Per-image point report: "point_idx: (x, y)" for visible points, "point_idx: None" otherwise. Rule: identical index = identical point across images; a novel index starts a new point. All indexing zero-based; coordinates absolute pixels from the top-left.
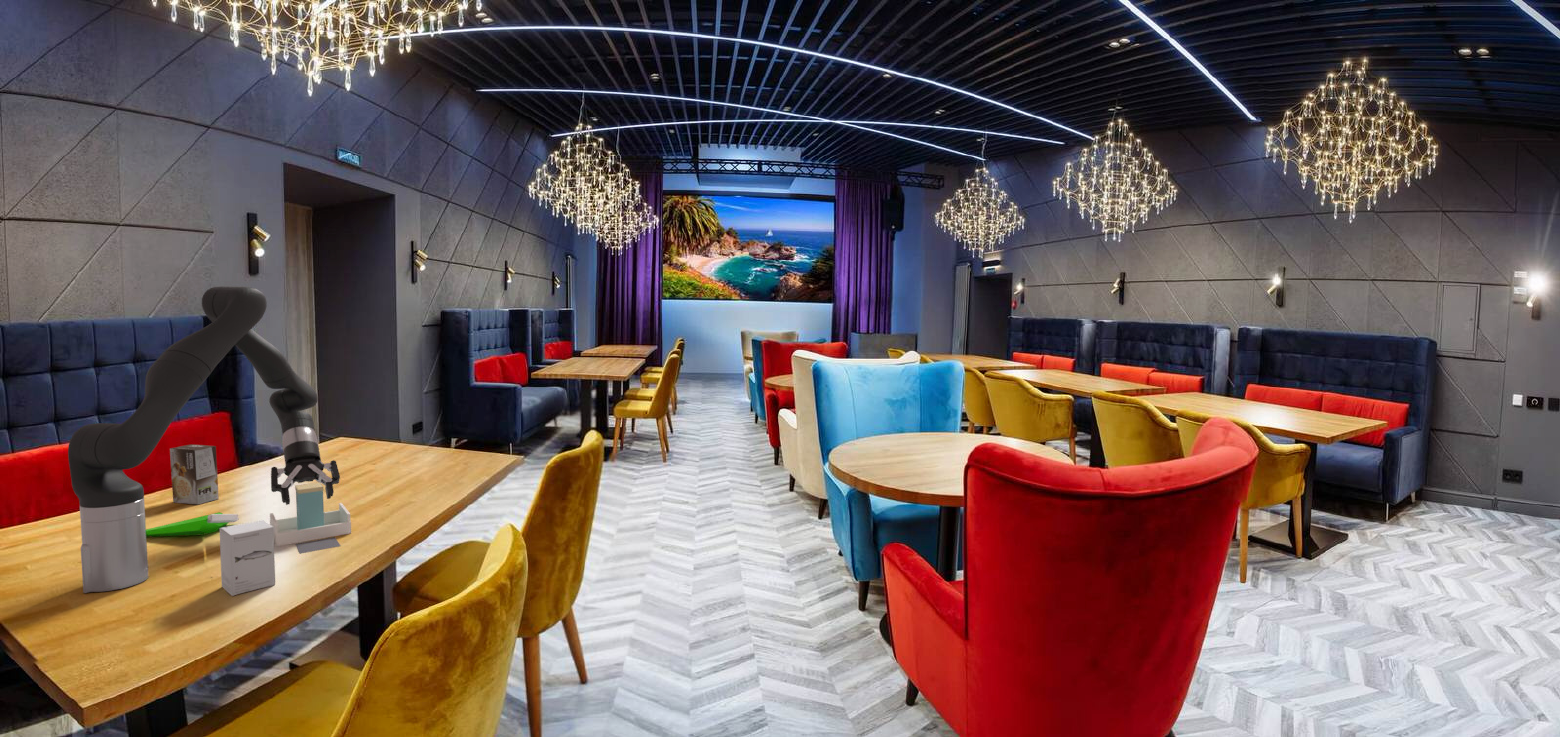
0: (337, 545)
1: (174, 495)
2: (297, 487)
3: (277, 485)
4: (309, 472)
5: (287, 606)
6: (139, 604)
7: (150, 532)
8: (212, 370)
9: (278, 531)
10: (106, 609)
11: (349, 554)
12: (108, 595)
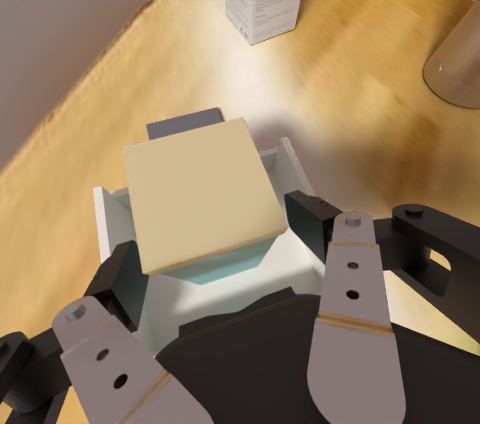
0: (152, 128)
1: None
2: (260, 171)
3: (393, 213)
4: (211, 365)
5: None
6: (370, 11)
7: None
8: None
9: (310, 289)
10: (400, 9)
11: (132, 93)
12: (434, 45)
